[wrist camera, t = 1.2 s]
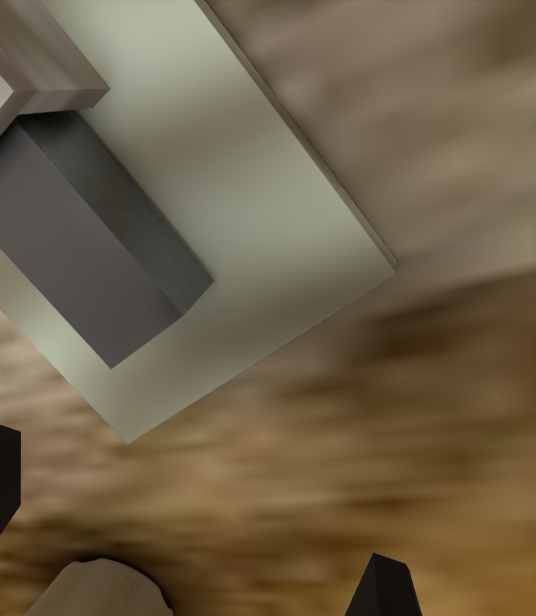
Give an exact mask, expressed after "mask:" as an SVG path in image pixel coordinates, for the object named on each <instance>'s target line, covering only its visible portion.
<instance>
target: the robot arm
mask: <svg viewBox="0 0 536 616" xmlns="http://www.w3.org/2000/svg"><path fill="white" fill-rule="evenodd" d="M20 505H21V432H20V431H17V430H14V429H11V428H8V427H5V426H2V425H0V534H1V533H2V531H3V530H4V529H5V527H6V526H7V524H8V523H9V521H10V520H11V518H12V517H13V515H14V514H15V512H16V511H17V509H18V508H19V506H20ZM345 616H422V613H421V610H420V606H419V603H418V600H417V596H416V592H415V589H414V585H413V582H412V578H411V574H410V570H409V569H408V567H407V565H406V564H405V563H402V562H399V561H396V560H393V559H390V558H387V557H384V556H382V555H379V554H376V553H373V554H372V557H371V559H370V561H369V563H368V565H367V568H366V570H365V572H364V574H363V576H362V579H361V581H360V583H359V585H358V587H357V590H356V592H355V594H354V596H353V598H352V601H351V603H350V605H349V607H348V609H347V612H346V614H345Z"/></svg>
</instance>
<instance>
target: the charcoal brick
mask: <svg viewBox="0 0 536 616" xmlns="http://www.w3.org/2000/svg"><path fill="white" fill-rule="evenodd" d="M0 249H1V250H2V251H3V252H4V253H5V254H6V256H7V257H8V258H9V259H10V260H11V261H12V262H13V263H14V264H15V265H16V266H17V268H18V269H19V270H20V271H21V272H22V273H23V274H24V275H25V276H26V277H27V278H28V280H29V281H30V282H31V283H32V284H33V285H34V286H35V287H36V288H37V289H38V290H39V292H40V293H41V294H42V295H43V296H44V297H45V298H46V299H47V300H48V301H49V302H50V304H51V305H52V306H53V307H54V308H55V309H56V310H57V311H58V312H59V313H60V314H61V315H62V317H63V318H64V319H65V320H66V321H67V322H68V323H69V324H70V325H71V326H72V327H73V329H74V330H75V331H76V332H77V333H78V334H79V335H80V336H81V337H82V338H83V339H84V341H85V342H86V343H87V344H88V345H89V346H90V347H91V348H92V349H93V350H94V351H95V353H96V354H97V355H98V356H99V357H100V358H101V359H102V360H103V361H104V362H105V363H106V365H107V366H108V367H109V368H110V369H113V368H114V367H115V366H117V365H118V364H119V363H121V362H122V361H123V360H125V359H126V358H127V357H129V356H130V355H131V354H133V353H134V352H135V351H137V350H138V349H140V348H141V347H142V346H144V345H145V344H146V343H148V342H149V341H150V340H152V339H153V338H154V337H156V336H157V335H158V334H160V333H161V332H162V331H164V330H165V329H167V328H168V327H169V326H171V325H172V324H173V323H175V322H176V321H177V320H179V319H180V318H181V317H183V316H184V315H185V314H186V313H187V311H188V310H189V309H190V308H191V307H192V306H193V305H194V304H195V302H196V301H197V300H198V299H199V298H200V297H201V296H202V295H203V293H204V292H205V291H206V290H207V289H208V288H209V287H210V286H211V284H212V283H213V282H214V280H213V279H212V277H211V276H210V275H209V274H208V273H207V271H206V270H205V269H204V268H203V267H202V265H201V264H200V263H199V262H198V261H197V259H196V258H195V257H194V256H193V255H192V253H191V252H190V251H189V250H188V249H187V247H186V246H185V245H184V244H183V243H182V241H181V240H180V239H179V238H178V237H177V235H176V234H175V233H174V232H173V231H172V229H171V228H170V227H169V226H168V225H167V223H166V222H165V221H164V220H163V218H162V217H161V216H160V215H159V214H158V212H157V211H156V210H155V209H154V208H153V206H152V205H151V204H150V203H149V202H148V200H147V199H146V198H145V197H144V196H143V194H142V193H141V192H140V191H139V190H138V188H137V187H136V186H135V185H134V184H133V182H132V181H131V180H130V179H129V178H128V176H127V175H126V174H125V173H124V172H123V170H122V169H121V168H120V167H119V166H118V164H117V163H116V162H115V161H114V160H113V158H112V157H111V156H110V155H109V154H108V152H107V151H106V150H105V149H104V147H103V146H102V145H101V144H100V143H99V141H98V140H97V139H96V138H95V137H94V135H93V134H92V133H91V132H90V131H89V129H88V128H87V127H86V126H85V125H84V123H83V122H82V121H81V120H80V119H79V117H78V116H77V115H76V114H75V113H74V111H73V110H64V111H53V112H42V113H31V114H20V115H17V116H16V117H15V119H14V120H13V121H12V122H11V123H10V125H9V126H8V127H7V128H6V129H5V131H4V132H3V133H2V134H1V135H0Z"/></svg>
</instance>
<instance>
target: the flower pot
mask: <svg viewBox="0 0 536 616" xmlns="http://www.w3.org/2000/svg"><path fill="white" fill-rule="evenodd" d="M24 616H173V611H172V610H171V609H170V608H168V607H167V605H166V603H165V601H164V599H163V597H162V594H161V591H160V589H159V587H158V586H157V585H156V584H155V583H154V582H153V581H151V580H150V579H149V578H148V577H146V576H145V575H143V574H142V573H140V572H139V571H137V570H135V569H133V568H131V567H129V566H127V565H124V564H122V563H119V562H116V561H113V560H109V559H104V558H99V559H97V560H94V561H90V562H85V563H80V562H79V561H74V562H72V563H70V564H69V565H67V566H66V567H65V568H64V569H63V570H62V571H61V572H60V573H59V575H58V576H57V577H56V578H55V580H54V581H53V582H52V583H51V584H50V586H49V587H48V588H47V589H46V590H45V591H44V593H43V594H42V595H41V596H40V597H39V598H38V600H37V601H36V602H35V603H34V604H33V605H32V607H31V608H30V609H29V610H28V611H27V612H26V614H25V615H24Z"/></svg>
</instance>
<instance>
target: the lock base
mask: <svg viewBox="0 0 536 616" xmlns="http://www.w3.org/2000/svg"><path fill="white" fill-rule="evenodd" d="M64 110H73V111H74V113H75V114H76V115H77V116H78V117H79V119H80V120H81V121H82V122H83V123H84V125H85V126H86V127H87V128H88V129H89V131H90V132H91V133H92V134H93V135H94V137H95V138H96V139H97V140H98V141H99V143H100V144H101V145H102V146H103V147H104V149H105V150H106V151H107V152H108V154H109V155H110V156H111V157H112V158H113V160H114V161H115V162H116V163H117V164H118V166H119V167H120V168H121V169H122V170H123V172H124V173H125V174H126V175H127V176H128V178H129V179H130V180H131V181H132V182H133V184H134V185H135V186H136V187H137V188H138V190H139V191H140V192H141V193H142V194H143V196H144V197H145V198H146V199H147V200H148V202H149V203H150V204H151V205H152V206H153V208H154V209H155V210H156V211H157V212H158V214H159V215H160V216H161V217H162V218H163V220H164V221H165V222H166V223H167V225H168V226H169V227H170V228H171V229H172V231H173V232H174V233H175V234H176V235H177V237H178V238H179V239H180V240H181V241H182V243H183V244H184V245H185V246H186V247H187V249H188V250H189V251H190V252H191V253H192V255H193V256H194V257H195V258H196V259H197V261H198V262H199V263H200V264H201V265H202V267H203V268H204V269H205V270H206V271H207V273H208V274H209V275H210V276H211V277H212V279H213V280H214V282H213V283H212V284H211V286H210V287H209V288H208V289H207V290H206V291H205V292H204V293H203V295H202V296H201V297H200V298H199V299H198V300H197V301H196V302H195V304H194V305H193V306H192V307H191V308H190V309H189V310H188V311H187V313H186V314H185V315H184V316H183V317H181V318H180V319H179V320H177V321H176V322H175V323H173V324H172V325H171V326H169V327H168V328H167V329H165V330H164V331H162V332H161V333H160V334H158V335H157V336H156V337H154V338H153V339H152V340H150V341H149V342H148V343H146V344H145V345H144V346H142V347H141V348H140V349H138V350H137V351H135V352H134V353H133V354H131V355H130V356H129V357H127V358H126V359H125V360H123V361H122V362H121V363H119V364H118V365H117V366H115V367H114V368H113V369H110V368H109V367H108V366H107V365H106V363H105V362H104V361H103V360H102V359H101V358H100V357H99V356H98V355H97V354H96V353H95V351H94V350H93V349H92V348H91V347H90V346H89V345H88V344H87V343H86V342H85V341H84V339H83V338H82V337H81V336H80V335H79V334H78V333H77V332H76V331H75V330H74V329H73V327H72V326H71V325H70V324H69V323H68V322H67V321H66V320H65V319H64V318H63V317H62V315H61V314H60V313H59V312H58V311H57V310H56V309H55V308H54V307H53V306H52V305H51V304H50V302H49V301H48V300H47V299H46V298H45V297H44V296H43V295H42V294H41V293H40V292H39V290H38V289H37V288H36V287H35V286H34V285H33V284H32V283H31V282H30V281H29V280H28V278H27V277H26V276H25V275H24V274H23V273H22V272H21V271H20V270H19V269H18V268H17V266H16V265H15V264H14V263H13V262H12V261H11V260H10V259H9V258H8V257H7V256H6V254H5V253H4V252H3V251H2V250H1V249H0V310H1V311H2V312H3V313H4V314H5V315H6V316H7V317H8V318H9V319H10V320H11V321H12V322H13V323H14V325H15V326H16V327H17V328H18V329H19V330H20V331H21V332H22V333H23V334H24V335H25V336H26V337H27V338H28V339H29V340H30V341H31V343H32V344H33V345H34V346H35V347H36V348H37V349H38V350H39V351H40V352H41V353H42V354H43V355H44V356H45V357H46V358H47V359H48V361H49V362H50V363H51V364H52V365H53V366H54V367H55V368H56V369H57V370H58V371H59V372H60V373H61V374H62V375H63V376H64V377H65V379H66V380H67V381H68V382H69V383H70V384H71V385H72V386H73V387H74V388H75V389H76V390H77V391H78V392H79V393H80V394H81V395H82V397H83V398H84V399H85V400H86V401H87V402H88V403H89V404H90V405H91V406H92V407H93V408H94V409H95V410H96V411H97V412H98V413H99V414H100V416H101V417H102V418H103V419H104V420H105V421H106V422H107V423H108V424H109V425H110V426H111V427H112V428H113V429H114V430H115V431H116V432H117V434H118V435H119V436H120V437H121V438H122V439H123V440H124V441H125V442H126V443H127V444H129V443H130V442H132V441H134V440H135V439H137V438H138V437H140V436H142V435H143V434H145V433H146V432H148V431H149V430H151V429H153V428H154V427H156V426H157V425H159V424H161V423H162V422H164V421H165V420H167V419H168V418H170V417H172V416H173V415H175V414H176V413H178V412H179V411H181V410H183V409H184V408H186V407H187V406H189V405H191V404H192V403H194V402H195V401H197V400H198V399H200V398H202V397H203V396H205V395H206V394H208V393H210V392H211V391H213V390H214V389H216V388H217V387H219V386H221V385H222V384H224V383H225V382H227V381H229V380H230V379H232V378H233V377H235V376H236V375H238V374H240V373H241V372H243V371H244V370H246V369H248V368H249V367H251V366H252V365H254V364H255V363H257V362H259V361H260V360H262V359H263V358H265V357H267V356H268V355H270V354H271V353H273V352H274V351H276V350H278V349H279V348H281V347H282V346H284V345H285V344H287V343H289V342H290V341H292V340H293V339H295V338H297V337H298V336H300V335H301V334H303V333H304V332H306V331H308V330H309V329H311V328H312V327H314V326H316V325H317V324H319V323H320V322H322V321H323V320H325V319H327V318H328V317H330V316H331V315H333V314H335V313H336V312H338V311H339V310H341V309H342V308H344V307H346V306H347V305H349V304H350V303H352V302H354V301H355V300H357V299H358V298H360V297H361V296H363V295H365V294H366V293H368V292H369V291H371V290H373V289H374V288H376V287H377V286H379V285H380V284H382V283H384V282H385V281H387V280H388V279H390V278H392V277H393V276H395V275H396V274H397V260H396V259H395V258H394V256H393V255H392V254H391V252H390V251H389V250H388V248H387V247H386V245H385V244H384V243H383V241H382V240H381V239H380V237H379V236H378V235H377V233H376V232H375V231H374V229H373V228H372V227H371V225H370V224H369V222H368V221H367V220H366V218H365V217H364V216H363V214H362V213H361V212H360V210H359V209H358V208H357V206H356V205H355V203H354V202H353V201H352V199H351V198H350V197H349V195H348V194H347V193H346V191H345V190H344V189H343V187H342V186H341V185H340V183H339V182H338V180H337V179H336V178H335V176H334V175H333V174H332V172H331V171H330V170H329V168H328V167H327V166H326V164H325V163H324V161H323V160H322V159H321V157H320V156H319V155H318V153H317V152H316V151H315V149H314V148H313V147H312V145H311V144H310V143H309V141H308V140H307V138H306V137H305V136H304V134H303V133H302V132H301V130H300V129H299V128H298V126H297V125H296V124H295V122H294V121H293V119H292V118H291V117H290V115H289V114H288V113H287V111H286V110H285V109H284V107H283V106H282V105H281V103H280V102H279V101H278V99H277V98H276V96H275V95H274V94H273V92H272V91H271V90H270V88H269V87H268V86H267V84H266V83H265V82H264V80H263V79H262V77H261V76H260V75H259V73H258V72H257V71H256V69H255V68H254V67H253V65H252V64H251V63H250V61H249V60H248V59H247V57H246V56H245V54H244V53H243V52H242V50H241V49H240V48H239V46H238V45H237V44H236V42H235V41H234V40H233V38H232V37H231V35H230V34H229V33H228V31H227V30H226V29H225V27H224V26H223V25H222V23H221V22H220V21H219V19H218V18H217V16H216V15H215V14H214V12H213V11H212V10H211V8H210V7H209V6H208V4H207V3H206V2H205V0H0V135H1V134H2V133H3V132H4V131H5V129H6V128H7V127H8V126H9V125H10V123H11V122H12V121H13V120H14V119H15V117H16V116H17V115H20V114H31V113H42V112H53V111H64Z"/></svg>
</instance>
